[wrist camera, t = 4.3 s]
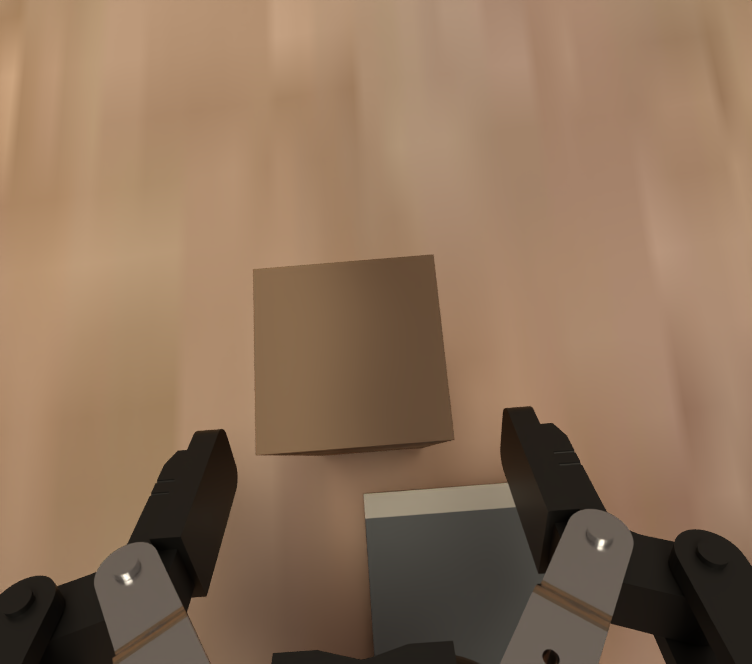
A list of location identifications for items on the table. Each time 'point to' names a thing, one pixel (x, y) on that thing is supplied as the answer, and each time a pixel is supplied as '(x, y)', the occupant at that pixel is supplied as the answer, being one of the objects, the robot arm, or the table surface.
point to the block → (349, 358)
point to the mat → (448, 568)
